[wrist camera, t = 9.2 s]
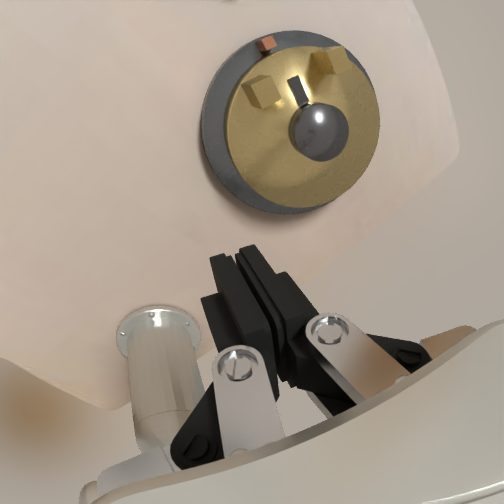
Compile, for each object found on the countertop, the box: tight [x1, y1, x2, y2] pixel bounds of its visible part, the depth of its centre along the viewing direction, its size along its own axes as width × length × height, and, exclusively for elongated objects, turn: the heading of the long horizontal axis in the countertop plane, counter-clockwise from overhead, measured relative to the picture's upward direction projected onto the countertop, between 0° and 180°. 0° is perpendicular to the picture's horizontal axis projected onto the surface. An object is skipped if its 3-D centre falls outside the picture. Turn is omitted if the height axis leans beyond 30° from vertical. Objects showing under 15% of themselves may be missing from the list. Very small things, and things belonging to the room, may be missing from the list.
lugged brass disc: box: [223, 46, 380, 208], centre depth 29 cm, size 18×18×6 cm
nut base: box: [201, 31, 376, 214], centre depth 32 cm, size 22×22×3 cm
